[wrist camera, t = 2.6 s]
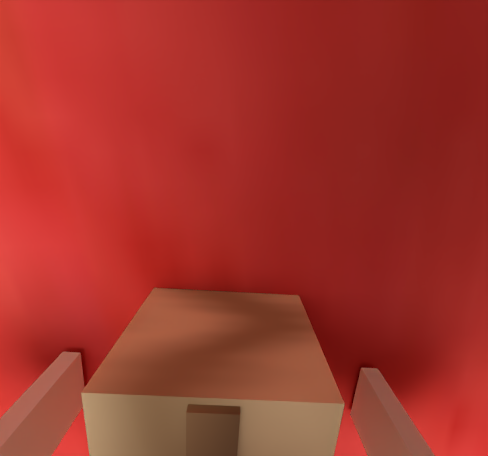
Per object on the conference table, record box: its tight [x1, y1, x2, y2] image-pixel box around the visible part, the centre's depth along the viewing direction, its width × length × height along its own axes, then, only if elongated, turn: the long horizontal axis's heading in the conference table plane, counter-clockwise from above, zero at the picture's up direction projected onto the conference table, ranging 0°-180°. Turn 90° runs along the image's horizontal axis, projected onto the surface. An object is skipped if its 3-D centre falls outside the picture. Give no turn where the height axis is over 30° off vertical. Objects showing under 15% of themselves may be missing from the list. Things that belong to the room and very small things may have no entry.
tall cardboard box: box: [81, 288, 345, 456], centre depth 9 cm, size 6×9×5 cm, turn 176°
